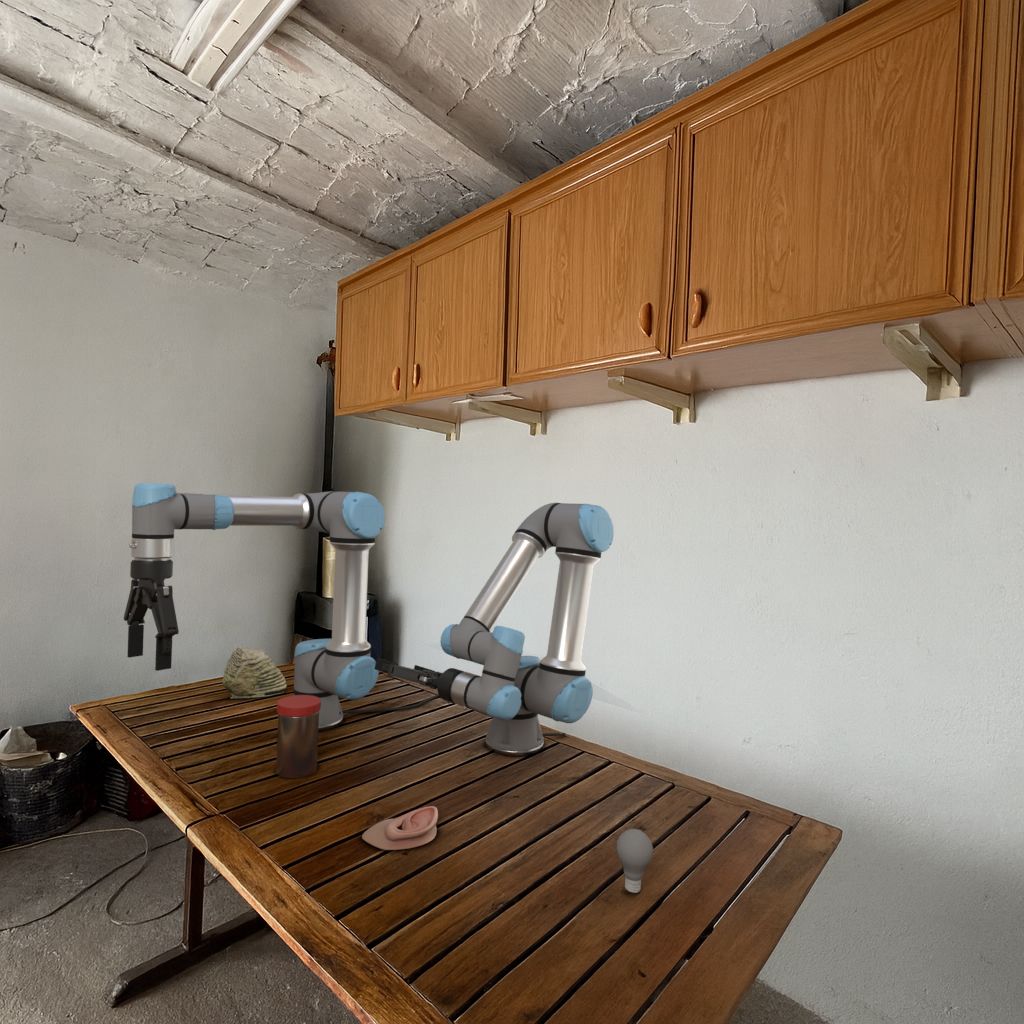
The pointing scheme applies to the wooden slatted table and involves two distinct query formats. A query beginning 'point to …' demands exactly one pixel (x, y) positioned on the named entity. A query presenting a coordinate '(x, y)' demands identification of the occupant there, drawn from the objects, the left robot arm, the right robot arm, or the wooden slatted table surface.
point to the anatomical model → (404, 830)
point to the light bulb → (634, 857)
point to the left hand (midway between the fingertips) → (148, 662)
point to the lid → (298, 705)
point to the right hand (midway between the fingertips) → (396, 667)
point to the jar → (297, 745)
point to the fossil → (252, 674)
